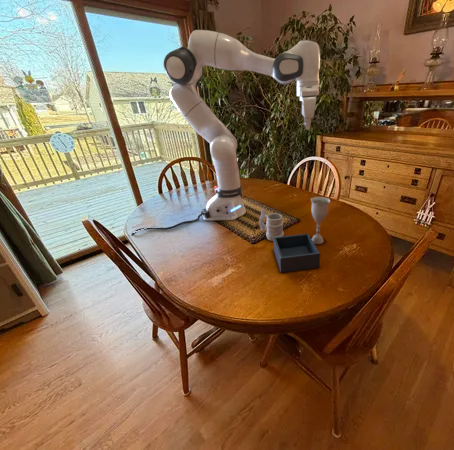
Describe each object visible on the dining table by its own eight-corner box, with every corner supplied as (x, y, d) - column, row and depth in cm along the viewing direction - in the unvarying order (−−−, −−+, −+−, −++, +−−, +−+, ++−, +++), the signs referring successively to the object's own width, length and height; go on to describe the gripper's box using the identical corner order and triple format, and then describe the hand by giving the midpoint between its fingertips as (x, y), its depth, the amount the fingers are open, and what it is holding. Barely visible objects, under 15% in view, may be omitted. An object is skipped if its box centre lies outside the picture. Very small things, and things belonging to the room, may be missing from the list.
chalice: (327, 237, 99) (331, 197, 90) (325, 246, 93) (329, 204, 85) (309, 235, 101) (312, 196, 93) (306, 243, 96) (308, 202, 87)
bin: (280, 272, 80) (280, 258, 78) (273, 250, 92) (273, 237, 89) (319, 267, 82) (320, 253, 79) (307, 246, 94) (308, 233, 91)
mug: (277, 243, 96) (276, 217, 91) (254, 235, 103) (253, 210, 97) (287, 235, 102) (287, 210, 96) (265, 228, 108) (264, 204, 102)
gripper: (298, 91, 104) (298, 125, 110) (300, 91, 86) (300, 131, 92) (313, 90, 103) (312, 125, 110) (318, 89, 85) (316, 130, 92)
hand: (307, 128), depth 101 cm, fingers open, 8 cm apart
